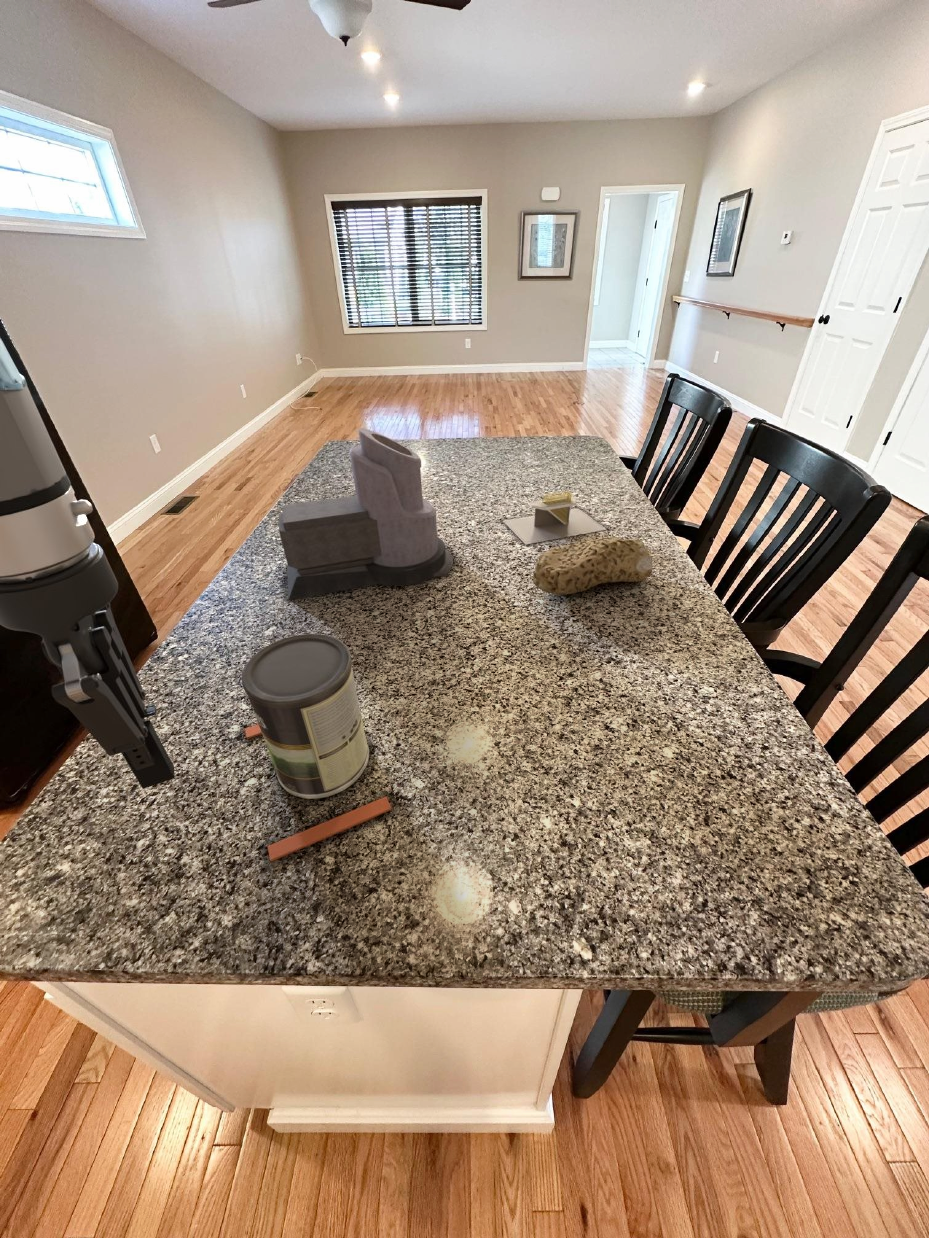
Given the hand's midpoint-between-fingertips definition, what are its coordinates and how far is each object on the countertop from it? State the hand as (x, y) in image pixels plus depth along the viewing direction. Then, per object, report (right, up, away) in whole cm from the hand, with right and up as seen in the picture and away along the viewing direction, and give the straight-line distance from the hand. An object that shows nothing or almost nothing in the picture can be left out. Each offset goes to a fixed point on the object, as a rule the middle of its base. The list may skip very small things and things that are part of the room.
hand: (158, 777), depth 49 cm
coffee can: (+13, -1, +9) cm, 16 cm away
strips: (+12, -1, +8) cm, 15 cm away
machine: (+12, +24, +45) cm, 53 cm away
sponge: (+50, +21, +39) cm, 67 cm away
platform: (+48, +34, +58) cm, 83 cm away
